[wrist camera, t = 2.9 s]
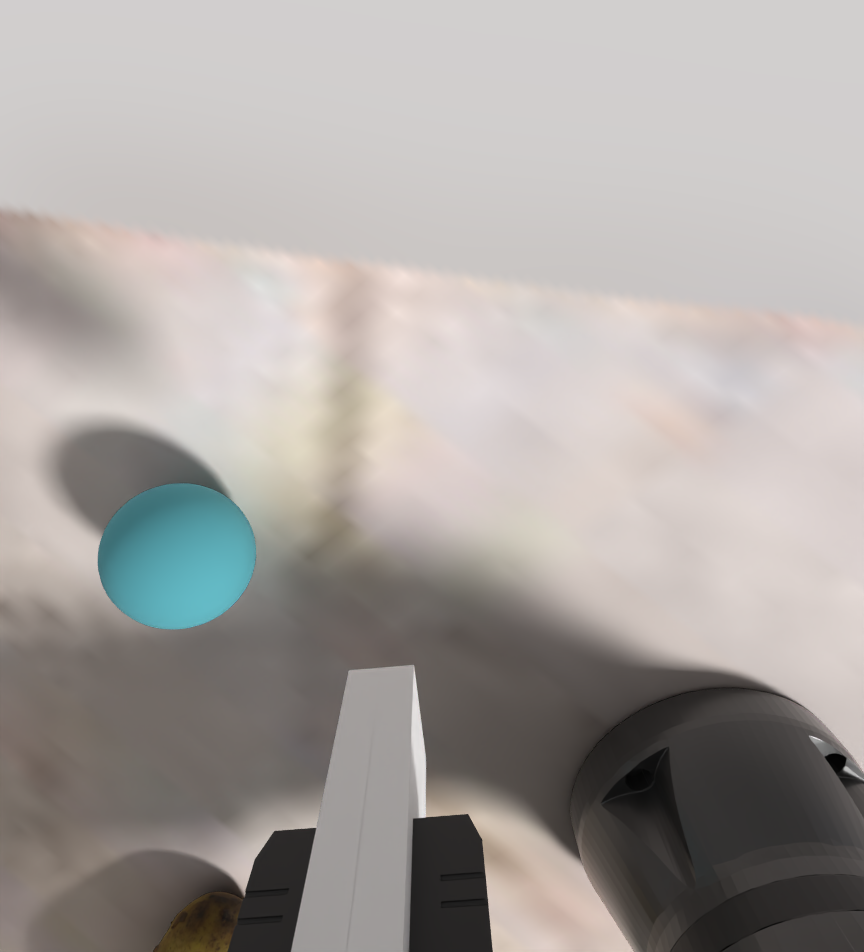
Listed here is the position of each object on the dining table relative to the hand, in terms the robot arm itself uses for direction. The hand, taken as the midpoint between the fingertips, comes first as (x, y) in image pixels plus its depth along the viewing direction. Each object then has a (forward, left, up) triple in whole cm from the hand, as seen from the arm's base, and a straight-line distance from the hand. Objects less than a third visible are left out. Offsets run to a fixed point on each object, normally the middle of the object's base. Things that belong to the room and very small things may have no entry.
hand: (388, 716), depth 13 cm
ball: (+9, 0, -11) cm, 14 cm away
